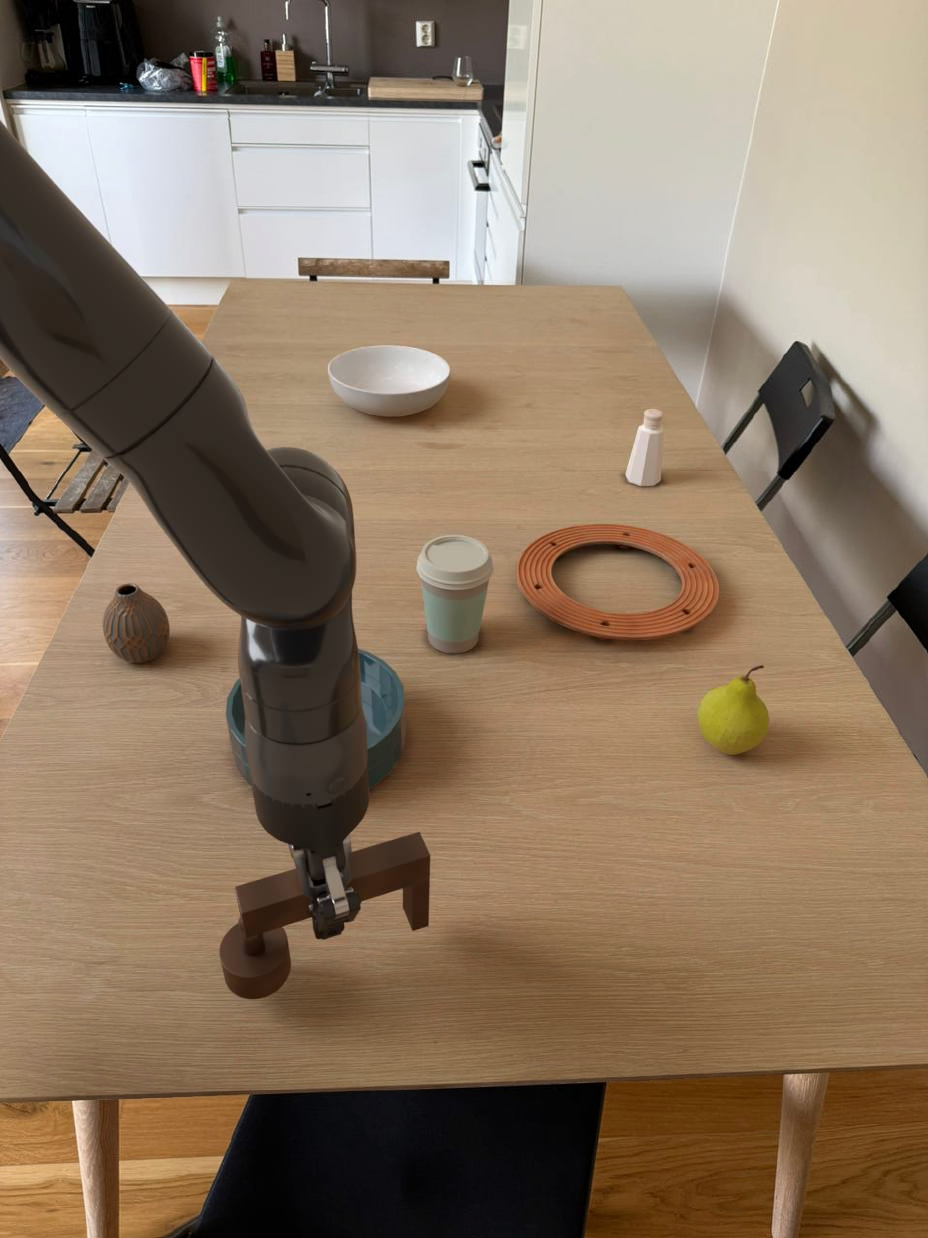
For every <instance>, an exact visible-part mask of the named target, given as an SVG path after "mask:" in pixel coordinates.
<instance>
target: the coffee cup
mask: <svg viewBox="0 0 928 1238" xmlns="http://www.w3.org/2000/svg"><path fill="white" fill-rule="evenodd" d="M415 568H416V569H415V570H416V573H417V574H418V576H419V578H420V587H421V593H422V601H423V602H422V603H423V608H424V615H425V621H426V622H425V624H426V630H427V637H428V642H429V643H430V645H431V647H433V648H434V649H436V650H437V651H439V652H442V653H446V654H463V653H466V652H468V651H470V650H471V649H473V648H474V647H475V646H476V645H477V644H478V640H479V635H480V634H479V633H480V631H481V625H482V620H483V614H484V610H485V604H486V599H487V593H488V588H489V585H490V584H489V583H490V578H491V577H492V576H493V573H494V570H495V569H494V562H493V558H492V556H491V555H490V551H489V549H488V547H487V546H486V545H485V544H484V542H482V541H481V540H479V539H476V538H474V537H471V536H467V535H462V534H447V535H441V536H437V537H435V538H433V539H431V540H429V541H427V542H426V543H425V544H424V545H423V547H422V548H421V552H420V554H419V555H418V557H417V561H416V567H415Z"/></svg>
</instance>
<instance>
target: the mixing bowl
mask: <svg viewBox="0 0 928 1238" xmlns="http://www.w3.org/2000/svg"><path fill="white" fill-rule="evenodd" d="M358 652H359V659H360V674H361V698H362V699H361V700H362V707H363V711H364V715H365V720H366V728H367V750H368V774H369V790H370V789H372V788H374V787H376V786H377V785H378V784H379V783H380V782H381V781H383V780H384V779H385V778H386V777H387V776H388V775H390V774H391V773H392V772H393V770H394V769H395V767H396V765H397V764H398V763H399V760H400V759H401V758H402V755H403V752H404V748H405V744H406V738H407V736H406V732H407V731H406V697H405V689H404V684H403V683H402V681H401V678H400V677H399V676H398V674H397V671H396V670H394V669H393V668H392V666H390V665H389V664H388V663H387V662H386V661H385V660H384V659H382V658H381V657H378V656H377V655H374V653H371V652H369V651H367V650H364V649H360V648H358ZM225 719H226V724H227V725H226V726H227V730H228V735H229V741H230V746H231V750H232V755H233V758H234V763H235V766H236V769H237V770H238V771H239V773H240V774H241V775H242V777H243V778H244V780H245V781H246V782H247V783H248V785H250V786H252V784H251V777H250V770H249V764H248V757H247V751H246V745H245V710H244V703H243V696H242V690H241V683H240V677H239V678H238V679H236V680H235V682H234V684H233V686H232V688H231V690H230V692H229V693H228V696H227V698H226V705H225Z"/></svg>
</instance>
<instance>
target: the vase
mask: <svg viewBox="0 0 928 1238" xmlns="http://www.w3.org/2000/svg"><path fill="white" fill-rule="evenodd" d="M170 628H171V627H170V621H169V617H168V615H167V613H166V610H165V609H164V607H163V605H162V604H161V602H160V601H158V600H157V598H155V597H154V596H152V595H151V594H149V593H147V592H145V591H143V590H142V589H141V588H140V587H139V586H138V585H137V584H135V583H124V584H121V585H119V586H117V588H116V589H115V591H114V596H113V597H112V599H111V600H110V602H109V603H108V605H107V606H106V608H105V610H104V613H103V617H102V632H103V636H104V639H105V642H106V644H107V646H108V648H109V649H110V650H111V652H112V653H113V654H114V655H116V656H117V657H118V658H119V659H122V660H123V661H126V662H129V663H133V664H143V663H147V662H151V661H153V660H155V659H156V658H157V657H158V656H159V655H161V654H162V653H163V652H164V650H165V649H166V647H167V645H168V642H169V639H170V632H171V629H170Z"/></svg>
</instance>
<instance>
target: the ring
mask: <svg viewBox="0 0 928 1238" xmlns="http://www.w3.org/2000/svg"><path fill="white" fill-rule="evenodd" d="M605 544H607V545H618V547H619V548H620V549H623V550H627V549H630V548H631V547H632V548H636V549H640V550H642V551H644V552H645V551H646V552H648V553H651V554H653V555H655V556H657V557H659V558H661V560H664V562H666V563H668V564H669V565H670V566H671V567H672V568H673V569H674V570H675V572H676V573H677V575H678V577H679V579H680V582H681V589H680V592H679V595H678V596H677V597H676V598H675V599H674V601H672V602H671V603H669V604H668V605H665V606H663V607H660V608H658V609H655V610H651V611H646V612H637V613H636V612H635V613H620V612H610V611H604V610H599V609H595V608H592V607H591V606H590V607H589V606H587V605H584V604H581V603H580V602H578V601H576V600H574V599H572V598H571V597H569V596H568V595H567V594H565V593H564V592H563V591H562V590H561V589H560V588H559V587H558V586H557V584H556V582H555V581H554V578H553V573H552V569H553V566H554V565H555V561H556V560H557V559H558V558H559V557H561V556H562V555H564V554H565V553H566V552H569V551H572V550H574V549H577V548H580V547H584V546H585V547H586V546H591V545H592V546H593V545H605ZM515 579H516V583H517V586H518V589H519V590H520V593H521V594H522V596H523V598H525V600H526V601H527V602H528V603H529V605H530V606H531V607H533V609H535V610H536V611H537V612H539V613H540V614H541V615H542V616H544V617H545V618H547V619H549V620H550V621H552V622H554V623H556V624H558V625H560V626H562V627H564V628H566V629H569V630H572V631H575V632H578V633H582V634H585V635H589V636H593V637H597V639H599V640H601V641H604V640H607V639H608V640H609V639H610V640H621V641H643V640H644V641H645V640H654V639H660V638H666V637H670V636H673V635H677V634H680V633H683V632H686V631H688V630H690V629H691V628H693V627H695V626H697V625H699V623H701V622H702V621H704V620H705V619H707V617H709V615H710V614H711V613H712V612H713V611H714V609H715V608H716V605H717V603H718V601H719V597H720V584H719V580H718V577H717V575H716V573H715V572H714V570H713V568H712V567H711V565H710V564H709V563H708V561H706V559H705V558H704V557H703V556H702V555H700V554H699V553H698V552H697V551H695V550H694V549H693V548H691V547H690V546H688V545H686V544H685V543H683V542H681V541H680V540H678V539H676V538H673V537H671V536H669V535H667V534H663V533H660V532H659V531H654V530H651V529H647V528H643V527H638V526H634V525H627V524H626V525H625V524H619V523H617V524H616V523H586V524H579V525H571V526H567V527H563V528H559V529H555V530H552V531H550V532H547V533H546V534H544V535H541V536H540V537H538V538H536V539H535V540H533V541H532V542H531V543H530V544H529V545H528V546H527V547H526V548H524V550H523V551H522V552H521V554H520V556H519V557H518V560H517V562H516V566H515Z"/></svg>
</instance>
